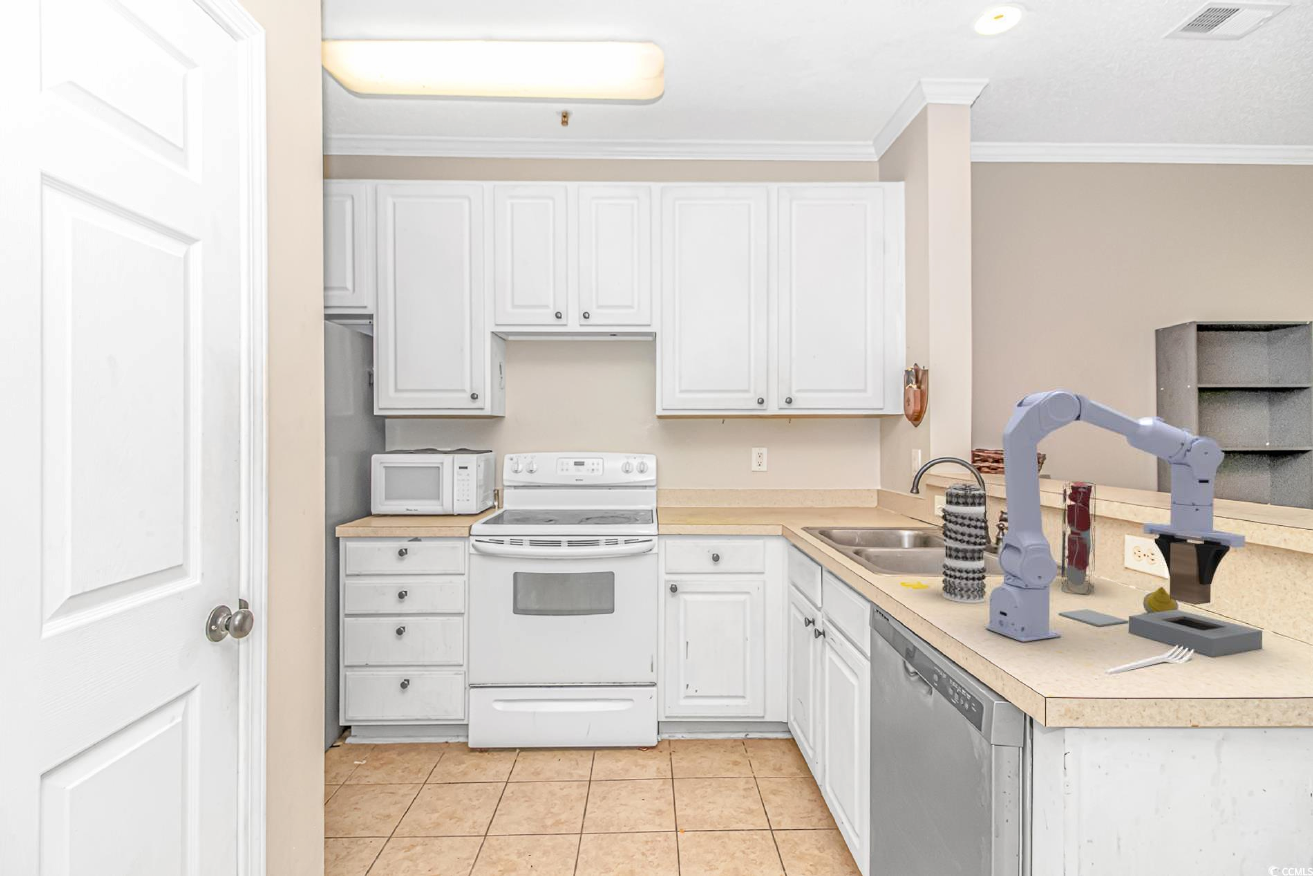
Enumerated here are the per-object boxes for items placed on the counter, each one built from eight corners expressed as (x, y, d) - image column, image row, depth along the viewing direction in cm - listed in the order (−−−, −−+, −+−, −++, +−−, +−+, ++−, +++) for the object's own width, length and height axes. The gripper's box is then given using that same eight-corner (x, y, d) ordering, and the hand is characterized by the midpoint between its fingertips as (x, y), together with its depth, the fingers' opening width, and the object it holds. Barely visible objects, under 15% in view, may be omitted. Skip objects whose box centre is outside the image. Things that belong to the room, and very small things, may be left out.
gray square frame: (1212, 657, 101) (1212, 638, 101) (1128, 632, 113) (1128, 616, 113) (1262, 648, 105) (1262, 630, 105) (1176, 625, 117) (1176, 609, 117)
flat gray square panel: (1098, 627, 116) (1098, 624, 116) (1058, 614, 124) (1058, 612, 124) (1128, 622, 119) (1128, 620, 119) (1087, 611, 126) (1087, 609, 126)
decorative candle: (938, 590, 142) (939, 482, 142) (983, 594, 139) (985, 483, 139) (942, 601, 133) (943, 485, 133) (990, 605, 130) (992, 486, 130)
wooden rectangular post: (1195, 604, 107) (1196, 546, 107) (1169, 598, 111) (1170, 542, 110) (1210, 602, 108) (1211, 545, 108) (1184, 596, 112) (1185, 541, 112)
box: (1093, 605, 131) (1095, 490, 130) (1059, 600, 134) (1060, 488, 134) (1094, 582, 151) (1096, 482, 151) (1064, 578, 154) (1065, 480, 154)
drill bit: (1184, 619, 122) (1187, 593, 117) (1155, 629, 123) (1157, 603, 118) (1163, 598, 127) (1165, 571, 121) (1136, 607, 128) (1137, 581, 122)
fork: (1095, 672, 95) (1095, 660, 95) (1174, 655, 103) (1174, 643, 103) (1118, 680, 92) (1118, 668, 92) (1197, 661, 100) (1197, 650, 100)
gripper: (1257, 508, 104) (1255, 589, 104) (1161, 499, 117) (1160, 570, 117) (1230, 509, 101) (1228, 592, 101) (1136, 500, 115) (1134, 573, 115)
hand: (1190, 581), depth 109 cm, fingers closed on wooden rectangular post, 4 cm apart
